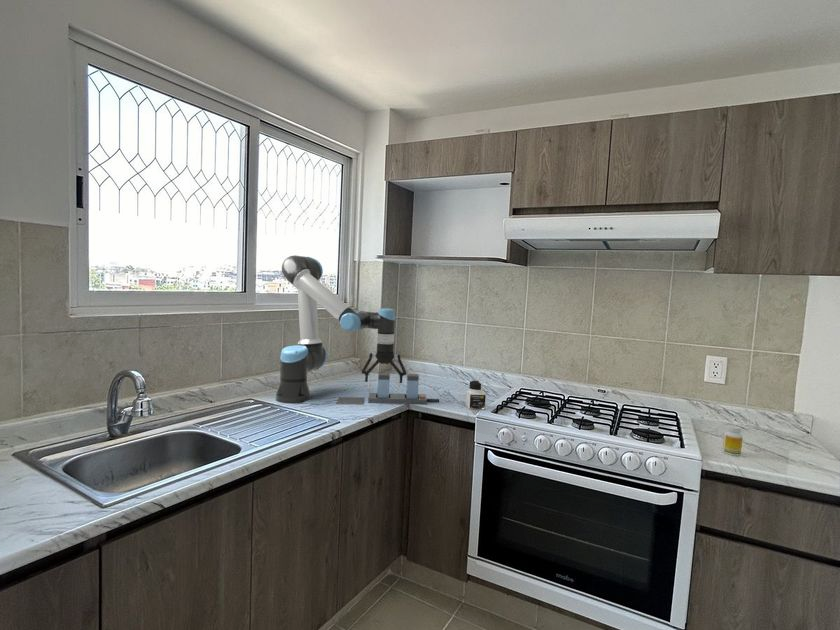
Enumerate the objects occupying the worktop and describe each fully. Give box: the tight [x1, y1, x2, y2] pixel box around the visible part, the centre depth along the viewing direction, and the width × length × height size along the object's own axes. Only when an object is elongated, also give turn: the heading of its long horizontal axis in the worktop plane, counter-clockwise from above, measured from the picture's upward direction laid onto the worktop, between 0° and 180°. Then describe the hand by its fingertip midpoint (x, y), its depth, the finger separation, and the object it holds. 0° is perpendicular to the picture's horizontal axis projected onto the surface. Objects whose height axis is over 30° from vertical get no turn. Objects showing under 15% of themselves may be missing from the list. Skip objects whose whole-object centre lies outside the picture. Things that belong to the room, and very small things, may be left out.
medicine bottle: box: [465, 380, 487, 410], centre depth 201 cm, size 7×7×12 cm
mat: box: [335, 396, 366, 406], centre depth 202 cm, size 12×12×1 cm
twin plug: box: [405, 373, 420, 399], centre depth 203 cm, size 5×5×12 cm
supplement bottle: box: [722, 424, 744, 457], centre depth 158 cm, size 5×5×10 cm
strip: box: [367, 392, 440, 406], centre depth 203 cm, size 32×10×4 cm, turn 94°
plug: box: [377, 372, 391, 398], centre depth 202 cm, size 5×5×12 cm
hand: (383, 389), depth 202 cm, fingers open, 13 cm apart
